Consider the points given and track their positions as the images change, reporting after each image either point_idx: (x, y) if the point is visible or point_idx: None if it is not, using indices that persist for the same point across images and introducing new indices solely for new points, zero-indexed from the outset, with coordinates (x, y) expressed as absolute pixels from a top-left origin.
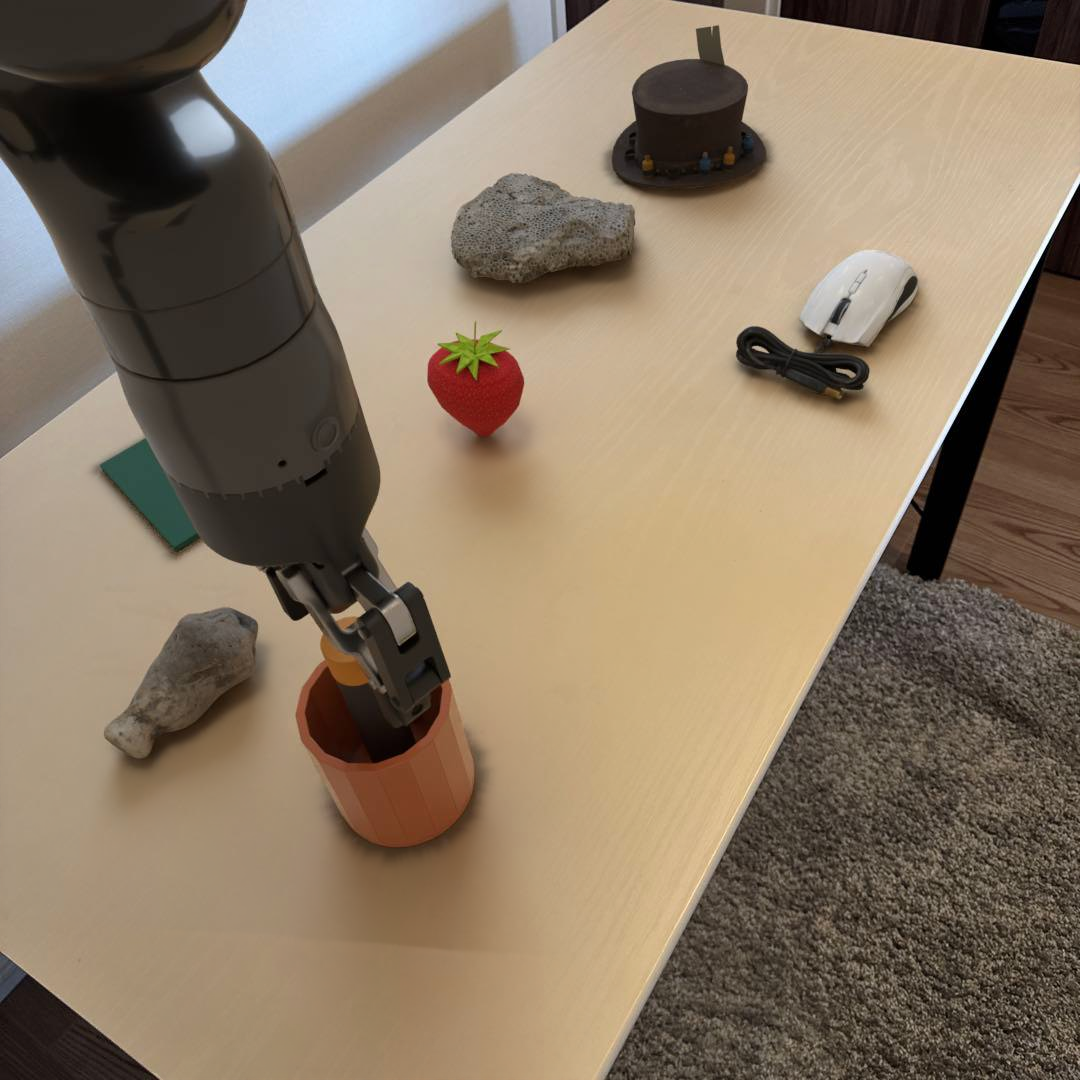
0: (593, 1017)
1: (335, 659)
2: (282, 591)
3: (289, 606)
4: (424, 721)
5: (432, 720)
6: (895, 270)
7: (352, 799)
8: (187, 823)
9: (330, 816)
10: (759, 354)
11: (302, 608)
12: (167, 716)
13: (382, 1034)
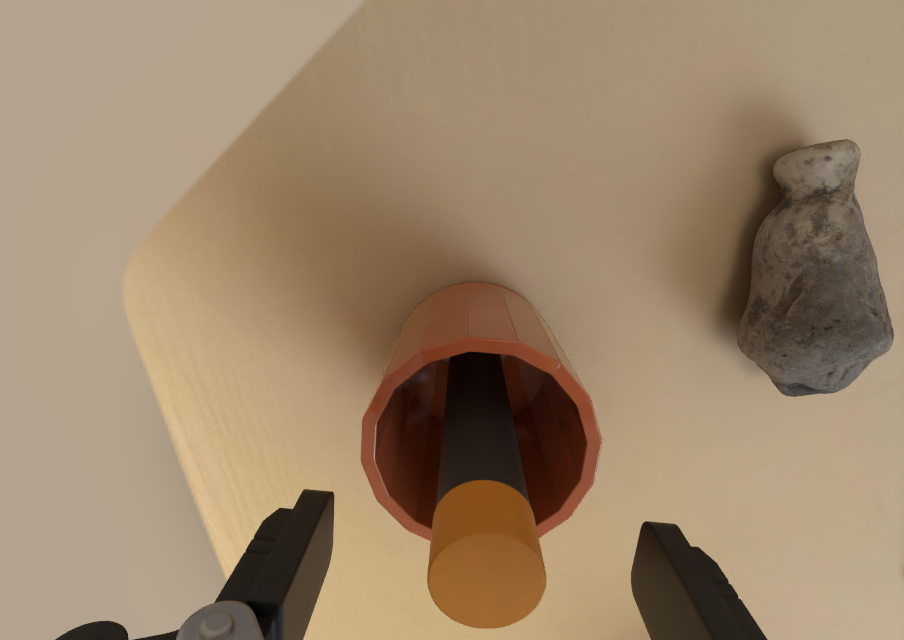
0: (148, 309)
1: (469, 540)
2: (686, 601)
3: (662, 557)
4: None
5: None
6: None
7: (439, 317)
8: (652, 149)
9: (512, 275)
10: None
11: (648, 554)
12: (786, 223)
13: (276, 152)
